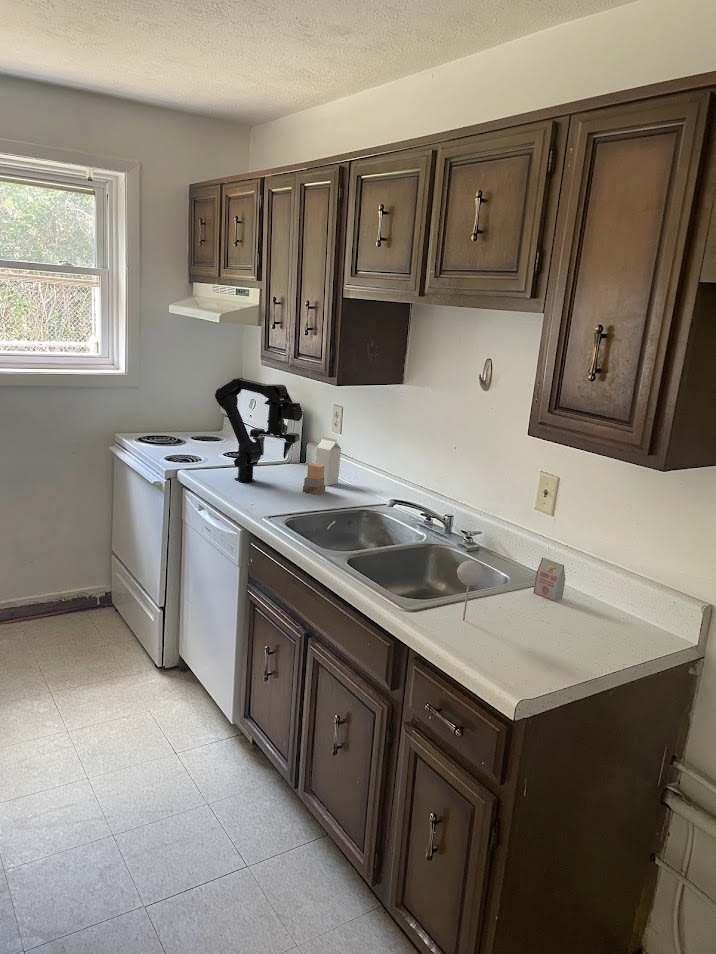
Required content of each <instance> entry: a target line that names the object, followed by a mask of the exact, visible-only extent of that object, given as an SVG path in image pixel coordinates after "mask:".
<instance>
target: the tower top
mask: <svg viewBox="0 0 716 954" xmlns="http://www.w3.org/2000/svg"><path fill="white" fill-rule="evenodd" d="M324 479H325V478H322V479H320V480H316V479H310V478H307V476H306V477H304V480H303V481H304V482H303V486H309V487H315V488H319V487H321V486H323V485H324Z"/></svg>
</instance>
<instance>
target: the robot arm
mask: <svg viewBox="0 0 716 954" xmlns="http://www.w3.org/2000/svg"><path fill="white" fill-rule="evenodd" d="M243 390H245V391H249V392H251V393H257V394H259V395H260V394H261V395H263V396H264V397H265V398H267V400H266V401H265V402H264V405H267V406H268V416H267V417H268V419H267V420H266V423H267V430H266V431H265V429H264V428H259V427H255V428H252V429H250V431H249V432H248V430H247V428H246V425H245V423H244V420H243V419H242V415H241V412H240V411H239V408H238V402H239V399H238V395H239V394H240V393H241V392H242V391H243ZM214 398H215V400H216V402H217V404H218V405H219V406H220V407H221V408H222V409H223V410H224V411H225V414H226V415H227V418H228V421H229V423H230V425H231V427H232V430H233V433H234V435H235V438H236V440H237V442H238V451H237V453H238V456H237V457H236V458H235V459H234V460H233V464H234V466H235V467H237V477H234V480H235V481H237V480H238V482H240V483H242V482H243V483H252V482H253V481H255V482H256V479H254V466H257V465H258V462H259V461H260V460H261V457H262V456H264V451H265V438H267V437H268V438H269V437H270V438H275V439H282V440H285V441H284V443H283V454H282V455H283V459H286V458H287V456H288V453H289V451H290V449H291V447H292V445H294V444H296V443H297V442H300V440H301V438H300V437H301V436H300V433H296V432H288V428H289V426H288V425H287V424H285V420H290V421H294V422H299V421H301V420H302V418H303V413H304V412H303V409H302V406H301V403H299V402H293V400H292V398H291V396H290V394H289V392H288V389H287V386H286V385H285V384H278V383H277V384H276V383H274V384H267V383H265V382H264V383H263V382H260V381H255V380H250V379H246V378H244V377H235V378H233V379H231V380H230V382H228V383H226V384H224V385H223V386H221V387H219V388H217V389H216V391H215V393H214ZM251 438H252V439H251ZM253 440H254V442H253ZM253 483H254V482H253Z"/></svg>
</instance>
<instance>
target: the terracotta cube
mask: <svg viewBox="0 0 716 954" xmlns="http://www.w3.org/2000/svg"><path fill="white" fill-rule="evenodd" d="M306 477H307V478H310V479H316V480H320V479H322V478H324V465H320V464H316V463H313V462H312V463H310V464H308V465H307V473H306Z"/></svg>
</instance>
